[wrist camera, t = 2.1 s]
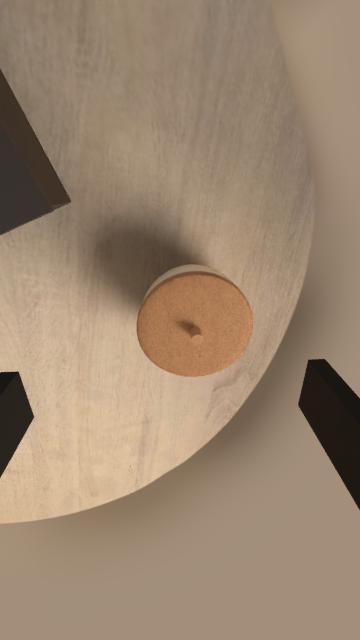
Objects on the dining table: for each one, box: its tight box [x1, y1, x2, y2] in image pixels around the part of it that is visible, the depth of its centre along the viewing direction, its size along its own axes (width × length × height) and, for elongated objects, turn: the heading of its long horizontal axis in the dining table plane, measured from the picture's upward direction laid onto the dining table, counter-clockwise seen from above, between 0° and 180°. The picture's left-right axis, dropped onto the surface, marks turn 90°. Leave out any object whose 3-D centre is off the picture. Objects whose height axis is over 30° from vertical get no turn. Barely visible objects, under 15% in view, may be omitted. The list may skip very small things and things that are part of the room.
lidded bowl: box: [137, 264, 253, 377], centre depth 28 cm, size 11×11×9 cm
